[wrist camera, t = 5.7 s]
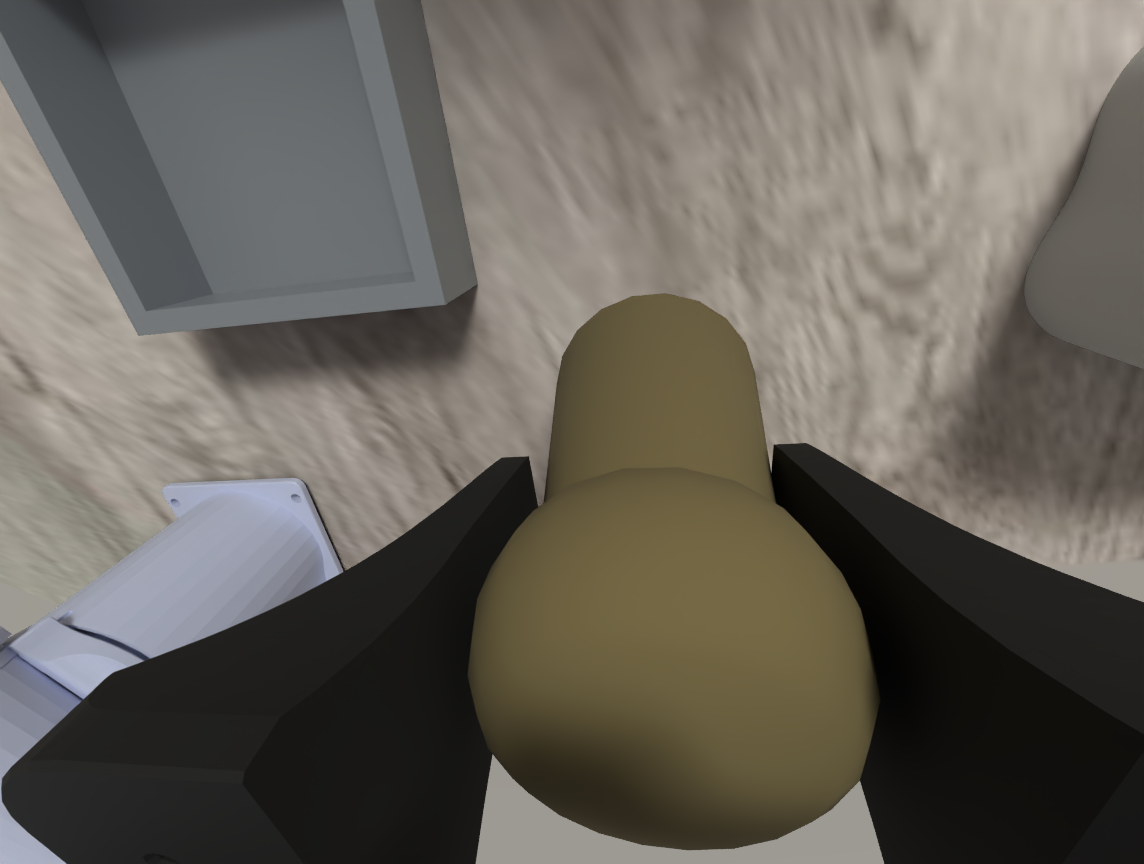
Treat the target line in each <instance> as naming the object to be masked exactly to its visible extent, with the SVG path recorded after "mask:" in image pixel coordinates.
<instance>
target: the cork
mask: <svg viewBox="0 0 1144 864" xmlns="http://www.w3.org/2000/svg"><path fill="white" fill-rule="evenodd" d="M468 680H469V684H470V688H471V693H472V697H473V701H474V705H475V710H476V714H477V717H478V720H479V723H480V726H481V729H482V732H483V735H484V738H485V741H486V744H487V747H488V749H489V750H490V752H491V753H492V754H493V755H494V756H495V758H496V759H497V760H498V761H499V762H500V764H501V765H502V766H503V767H504V768H505V770H506V771H507V772H508V773H509V775H510V776H511V777H512V778H513V779H514V780H515V781H516V782H517V783H518V784H519V785H520V786H522V787H523V788H524V789H525V790H526V791H527V792H528V793H529V794H531V795H532V796H534V797H535V798H536V799H538V800H539V801H541V802H542V803H543V804H545V805H546V806H548V807H549V808H550V809H552V810H553V811H555V812H556V813H557V814H559V815H561V816H562V817H565V818H567V819H569V820H571V821H573V822H576V823H578V824H580V825H582V826H585V827H587V828H589V829H591V830H593V831H596V832H598V833H601V834H604V835H608V836H612V837H615V838H619V839H623V840H626V841H630V842H634V843H637V844H641V845H648V846H657V847H666V848H674V849H682V850H706V849H707V850H708V849H734V848H739V847H743V846H748V845H752V844H757V843H761V842H766V841H770V840H775V839H778V838H780V837H782V836H784V835H786V834H788V833H790V832H792V831H794V830H796V829H798V828H801V827H802V826H805V825H807V824H809V823H811V822H813V821H814V820H816V819H817V818H819V817H820V816H822V815H824V814H825V813H827V812H828V811H830V810H831V809H832V808H833V807H834V806H835V805H836V804H837V803H838V802H839V801H840V800H841V799H842V798H843V797H844V796H845V795H846V794H847V793H848V792H849V791H850V790H851V789H852V788H853V787H854V786H855V785H856V784H857V783H858V782H859V781H860V778H861V774H862V771H863V767H864V764H865V760H866V757H867V753H868V750H869V746H870V743H871V738H872V734H873V730H874V726H875V721H876V717H877V713H878V709H879V704H880V700H881V699H880V693H879V687H878V681H877V675H876V669H875V663H874V657H873V653H872V649H871V646H870V642H869V638H868V635H867V631H866V627H865V624H864V620H863V616H862V612H861V609H860V607H859V605H858V603H857V601H856V599H855V598H854V596H853V594H852V592H851V590H850V588H849V586H848V584H847V582H846V580H845V578H844V577H843V575H842V573H841V571H840V570H839V569H838V568H837V567H836V566H835V564H834V563H833V562H832V561H831V560H830V558H829V557H828V556H827V555H826V554H825V553H824V551H823V550H822V549H821V548H820V547H819V546H818V544H817V543H816V542H815V541H814V540H813V538H812V537H811V536H810V535H809V534H808V533H807V531H806V530H805V529H804V528H803V527H802V526H801V525H800V524H799V523H798V522H797V521H796V520H795V519H794V518H793V517H792V516H791V515H790V514H789V513H788V512H787V511H786V510H785V509H784V508H782V507H780V506H779V505H777V504H776V500H775V494H774V487H773V481H772V475H771V469H770V463H769V457H768V451H767V445H766V439H765V432H764V426H763V420H762V414H761V408H760V402H759V396H758V390H757V383H756V377H755V372H754V369H753V365H752V362H751V359H750V356H749V352H748V349H747V346H746V343H745V342H744V341H743V339H742V338H741V337H740V335H739V334H738V333H737V332H736V330H735V329H734V328H733V326H732V325H731V324H730V323H729V321H728V320H727V319H726V318H725V317H723V316H721V315H720V314H718V313H717V312H715V311H714V310H712V309H710V308H709V307H707V306H706V305H704V304H702V303H701V302H699V301H696V300H692V299H687V298H683V297H679V296H674V295H670V294H666V293H665V294H654V295H643V296H632V297H629V298H627V299H625V300H622V301H620V302H618V303H615V304H613V305H611V306H608V307H606V308H603V309H601V310H600V311H599V312H598V313H597V314H595V315H594V316H593V317H592V318H591V319H590V320H589V321H587V322H586V323H585V324H584V325H583V326H582V327H581V328H579V329H578V330H577V332H576V334H575V335H574V337H573V339H572V340H571V342H570V344H569V346H568V347H567V349H566V351H565V352H564V354H563V356H562V361H561V366H560V371H559V376H558V381H557V388H556V397H555V406H554V415H553V424H552V433H551V442H550V451H549V460H548V469H547V478H546V487H545V496H544V503H543V504H542V505H541V506H539V507H538V508H536V509H535V510H533V511H532V513H531V514H530V515H529V516H528V517H527V518H526V519H525V521H524V522H523V523H522V524H521V525H520V526H519V527H518V528H517V530H516V531H515V532H514V534H513V535H512V537H511V538H510V540H509V541H508V543H507V544H506V546H505V547H504V549H503V550H502V552H501V553H500V555H499V556H498V558H497V559H496V561H495V562H494V564H493V565H492V567H491V568H490V571H489V573H488V575H487V577H486V580H485V582H484V584H483V587H482V589H481V591H480V594H479V596H478V598H477V604H476V611H475V618H474V625H473V632H472V639H471V648H470V657H469V667H468Z"/></svg>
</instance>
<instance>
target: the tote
mask: <svg viewBox="0 0 1144 864" xmlns="http://www.w3.org/2000/svg"><path fill="white" fill-rule="evenodd" d="M0 80H1V82H2V84H3V86H4V87H5V89H6V91H7V93H8V95H9V97H10V98H11V100H12V102H13V104H14V106H15V108H16V110H17V111H18V113H19V115H20V117H21V119H22V121H23V123H24V124H25V126H26V128H27V130H28V132H29V134H30V136H31V137H32V139H33V141H34V143H35V145H36V147H37V148H38V150H39V152H40V154H41V156H42V158H43V160H44V161H45V163H46V165H47V167H48V169H49V171H50V173H51V174H52V176H53V178H54V180H55V182H56V184H57V186H58V187H59V189H60V191H61V193H62V195H63V197H64V199H65V200H66V202H67V204H68V206H69V208H70V210H71V211H72V213H73V215H74V217H75V219H76V221H77V223H78V224H79V226H80V228H81V230H82V232H83V234H84V236H85V237H86V239H87V241H88V243H89V245H90V247H91V249H92V250H93V252H94V254H95V256H96V258H97V260H98V261H99V263H100V265H101V267H102V269H103V271H104V273H105V274H106V276H107V278H108V280H109V282H110V284H111V286H112V287H113V289H114V291H115V293H116V295H117V297H118V299H119V300H120V302H121V304H122V306H123V308H124V310H125V312H126V313H127V315H128V317H129V319H130V321H131V323H132V324H133V326H134V328H135V330H136V332H137V334H138V336H141V335H151V334H161V333H171V332H181V331H191V330H200V329H210V328H220V327H230V326H240V325H250V324H260V323H270V322H280V321H289V320H299V319H309V318H319V317H329V316H339V315H349V314H359V313H369V312H379V311H388V310H398V309H408V308H418V307H428V306H438V305H446V304H447V303H449V302H451V301H452V300H454V299H455V298H457V297H458V296H460V295H462V294H463V293H465V292H466V291H468V290H469V289H471V288H472V287H474V286H476V285H477V279H476V274H475V269H474V264H473V259H472V254H471V249H470V244H469V239H468V234H467V229H466V224H465V219H464V214H463V209H462V204H461V199H460V194H459V189H458V185H457V180H456V175H455V170H454V165H453V160H452V155H451V150H450V145H449V140H448V135H447V130H446V125H445V120H444V115H443V110H442V105H441V100H440V95H439V90H438V85H437V80H436V75H435V71H434V66H433V61H432V56H431V51H430V46H429V41H428V36H427V31H426V26H425V21H424V16H423V11H422V6H421V1H420V0H0Z"/></svg>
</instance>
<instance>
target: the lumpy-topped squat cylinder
mask: <svg viewBox="0 0 1144 864" xmlns="http://www.w3.org/2000/svg"><path fill="white" fill-rule="evenodd" d="M1024 297H1025V302H1026V305H1027V308H1028V310H1029V312H1030V314H1031V316H1032V317H1033V319H1034V320H1035V321H1036V323H1037V324H1038V325H1039V326H1040V327H1041V328H1042V329H1044V330H1045V331H1046V332H1047V333H1049V334H1051V335H1052V336H1054V337H1056V338H1058V339H1061V340H1063V341H1066V342H1069V343H1071V344H1074V345H1077V346H1080V347H1083V348H1085V349H1088V350H1091V351H1094V352H1097V353H1099V354H1102V355H1105V356H1108V357H1111V358H1114V359H1116V360H1119V361H1122V362H1125V363H1128V364H1130V365H1133V366H1136V367H1139V368H1142V369H1144V47H1143V48H1142V49H1141V50H1140V51H1139V52H1138V53H1137V54H1136V55H1135V56H1134V57H1133V58H1132V60H1131V61H1130V62H1129V63H1128V64H1127V66H1126V67H1125V68H1124V70H1123V71H1122V72H1121V74H1120V75H1119V77H1118V78H1117V80H1116V82H1115V83H1114V85H1113V87H1112V88H1111V90H1110V92H1109V94H1108V96H1107V98H1106V100H1105V102H1104V105H1103V107H1102V110H1101V112H1100V115H1099V117H1098V120H1097V123H1096V126H1095V129H1094V132H1093V135H1092V139H1091V142H1090V145H1089V149H1088V152H1087V155H1086V158H1085V161H1084V164H1083V167H1082V170H1081V172H1080V175H1079V177H1078V179H1077V182H1076V184H1075V186H1074V188H1073V190H1072V192H1071V194H1070V196H1069V198H1068V200H1067V201H1066V203H1065V205H1064V207H1063V208H1062V210H1061V212H1060V213H1059V215H1058V216H1057V218H1056V219H1055V221H1054V223H1053V224H1052V226H1051V227H1050V229H1049V230H1048V232H1047V234H1046V235H1045V237H1044V239H1043V240H1042V242H1041V244H1040V245H1039V247H1038V249H1037V251H1036V253H1035V255H1034V257H1033V259H1032V261H1031V263H1030V266H1029V268H1028V271H1027V275H1026V278H1025V284H1024Z"/></svg>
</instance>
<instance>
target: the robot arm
mask: <svg viewBox="0 0 1144 864" xmlns="http://www.w3.org/2000/svg"><path fill="white" fill-rule="evenodd" d="M771 475H772V481H773V487H774V494H775V500H776V504H777V505H779V506H780V507H782V508H784V509H785V510H786V511H787V512H788V513H789V514H790V515H791V516H792V517H793V518H794V519H795V520H796V521H797V522H798V523H799V524H800V525H801V526H802V527H803V528H804V529H805V530H806V531H807V533H808V534H809V535H810V536H811V537H812V538H813V540H814V541H815V542H816V543H817V544H818V546H819V547H820V548H821V549H822V550H823V551H824V553H825V554H826V555H827V556H828V557H829V558H830V560H831V561H832V562H833V563H834V564H835V566H836V567H837V568H838V569H839V570H840V571H841V573H842V575H843V577H844V578H845V580H846V582H847V584H848V586H849V588H850V590H851V592H852V594H853V596H854V598H855V599H856V601H857V603H858V605H859V607H860V609H861V612H862V616H863V620H864V624H865V627H866V631H867V635H868V638H869V642H870V646H871V649H872V653H873V657H874V663H875V669H876V675H877V681H878V687H879V693H880V699H881V700H880V704H879V709H878V713H877V717H876V721H875V726H874V730H873V734H872V738H871V743H870V746H869V750H868V753H867V757H866V760H865V764H864V767H863V771H862V774H861V778H860V782H861V785H862V789H863V792H864V795H865V799H866V802H867V805H868V808H869V812H870V815H871V818H872V822H873V825H874V829H875V832H876V835H877V839H878V843H879V846H880V850H881V853H882V857H883V860H884V864H1144V602H1141V601H1138V600H1135V599H1132V598H1130V597H1126V596H1124V595H1121V594H1118V593H1115V592H1113V591H1110V590H1108V589H1105V588H1102V587H1100V586H1097V585H1094V584H1092V583H1089V582H1086V581H1084V580H1081V579H1078V578H1075V577H1073V576H1070V575H1067V574H1065V573H1062V572H1060V571H1057V570H1055V569H1052V568H1050V567H1047V566H1045V565H1042V564H1040V563H1037V562H1035V561H1032V560H1030V559H1027V558H1025V557H1023V556H1020V555H1018V554H1016V553H1014V552H1011V551H1009V550H1007V549H1004V548H1002V547H1000V546H998V545H995V544H993V543H991V542H989V541H986V540H984V539H982V538H979V537H977V536H975V535H973V534H971V533H969V532H967V531H964V530H962V529H960V528H958V527H956V526H954V525H952V524H950V523H948V522H946V521H944V520H942V519H940V518H938V517H936V516H935V515H933V514H931V513H929V512H927V511H925V510H923V509H921V508H919V507H917V506H915V505H913V504H911V503H910V502H908V501H906V500H904V499H902V498H901V497H899V496H897V495H895V494H893V493H892V492H890V491H888V490H886V489H885V488H883V487H881V486H879V485H878V484H876V483H874V482H873V481H871V480H869V479H867V478H866V477H864V476H862V475H861V474H859V473H857V472H856V471H854V470H852V469H851V468H849V467H847V466H846V465H844V464H842V463H841V462H839V461H837V460H836V459H834V458H832V457H831V456H829V455H827V454H826V453H824V452H822V451H820V450H819V449H817V448H815V447H813V446H811V445H809V444H807V443H799V444H778V445H774V449H773V461H772V472H771ZM162 493H163V496H164V497H165V499H166V500H167V502H168V504H169V505H170V507H171V509H172V510H173V512H174V514H175V515H176V517H177V520H175V521H174V522H173V523H171V524H170V525H169V526H167V527H166V528H164V529H163V530H162V531H160V532H159V533H158V534H156V535H155V536H154V537H152V538H151V539H149V540H148V541H147V542H145V543H144V544H143V545H141V546H140V547H139V548H137V549H136V550H134V551H133V552H132V553H130V554H129V555H128V556H126V557H125V558H124V559H122V560H121V561H119V562H118V563H117V564H115V565H114V566H113V567H111V568H110V569H109V570H107V571H106V572H104V573H103V574H102V575H100V576H99V577H98V578H96V579H95V580H94V581H92V582H91V583H89V584H88V585H87V586H85V587H84V588H83V589H81V590H80V591H79V592H77V593H76V594H74V595H73V596H72V597H70V598H69V599H68V600H66V601H65V602H64V603H62V604H61V605H60V606H58V607H57V608H55V609H54V610H53V611H51V612H50V613H49V614H47V615H46V616H45V617H43V618H42V619H40V620H39V621H38V622H36V623H35V624H33V625H31V626H29V627H28V628H26V629H24V630H22V631H21V632H19V633H17V634H15V635H13V636H11V637H10V638H8V637H9V636H10V635H11V633H10V632H8V631H7V630H5V629H4V628H3V627H1V626H0V864H475V863H476V857H477V849H478V843H479V836H480V829H481V823H482V816H483V809H484V802H485V796H486V790H487V783H488V778H489V772H490V766H491V760H492V753H491V752H490V750H489V749H488V747H487V744H486V741H485V738H484V735H483V732H482V729H481V726H480V723H479V720H478V717H477V714H476V710H475V705H474V701H473V697H472V693H471V688H470V684H469V680H468V667H469V657H470V648H471V639H472V632H473V625H474V618H475V611H476V604H477V598H478V596H479V594H480V591H481V589H482V587H483V584H484V582H485V580H486V577H487V575H488V573H489V571H490V568H491V567H492V565H493V564H494V562H495V561H496V559H497V558H498V556H499V555H500V553H501V552H502V550H503V549H504V547H505V546H506V544H507V543H508V541H509V540H510V538H511V537H512V535H513V534H514V532H515V531H516V530H517V528H518V527H519V526H520V525H521V524H522V523H523V522H524V521H525V519H526V518H527V517H528V516H529V515H530V514H531V513H532V511H533V510H535V509H536V508H538V504H537V499H536V493H535V488H534V482H533V477H532V471H531V466H530V460H529V456H528V457H507V458H501V459H499V460H498V461H496V462H495V463H494V464H493V465H491V466H490V467H489V468H488V469H486V470H485V471H484V472H483V473H481V474H480V475H479V476H478V477H477V478H476V479H474V480H473V481H472V482H471V483H470V484H468V485H467V486H466V487H465V488H463V489H462V490H461V491H460V492H459V493H457V494H456V495H455V496H454V497H452V498H451V499H450V500H449V501H448V502H446V503H445V504H444V505H443V506H441V507H440V508H439V509H437V510H436V511H435V512H433V513H432V514H431V515H429V516H428V517H427V518H425V519H424V520H423V521H421V522H420V523H419V524H417V525H416V526H415V527H413V528H412V529H411V530H409V531H408V532H406V533H405V534H404V535H402V536H401V537H399V538H398V539H396V540H395V541H393V542H392V543H390V544H389V545H387V546H386V547H384V548H383V549H381V550H379V551H378V552H376V553H375V554H373V555H371V556H370V557H368V558H367V559H365V560H363V561H362V562H360V563H358V564H357V565H355V566H353V567H351V568H350V569H348V570H346V571H344V572H343V569H342V567H341V565H340V562H339V560H338V558H337V556H336V553H335V551H334V549H333V547H332V544H331V542H330V540H329V538H328V535H327V533H326V531H325V529H324V526H323V524H322V522H321V520H320V517H319V515H318V513H317V511H316V508H315V506H314V504H313V501H312V499H311V497H310V495H309V492H308V490H307V488H306V486H305V484H304V483H303V482H302V481H301V480H299V479H297V478H277V479H255V480H232V481H210V482H188V483H171V484H168V485H167V486H165V487H164V488H163V489H162ZM296 494H297V495H298V496H300V497H298V496H297V495H296ZM7 638H8V639H7Z"/></svg>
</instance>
